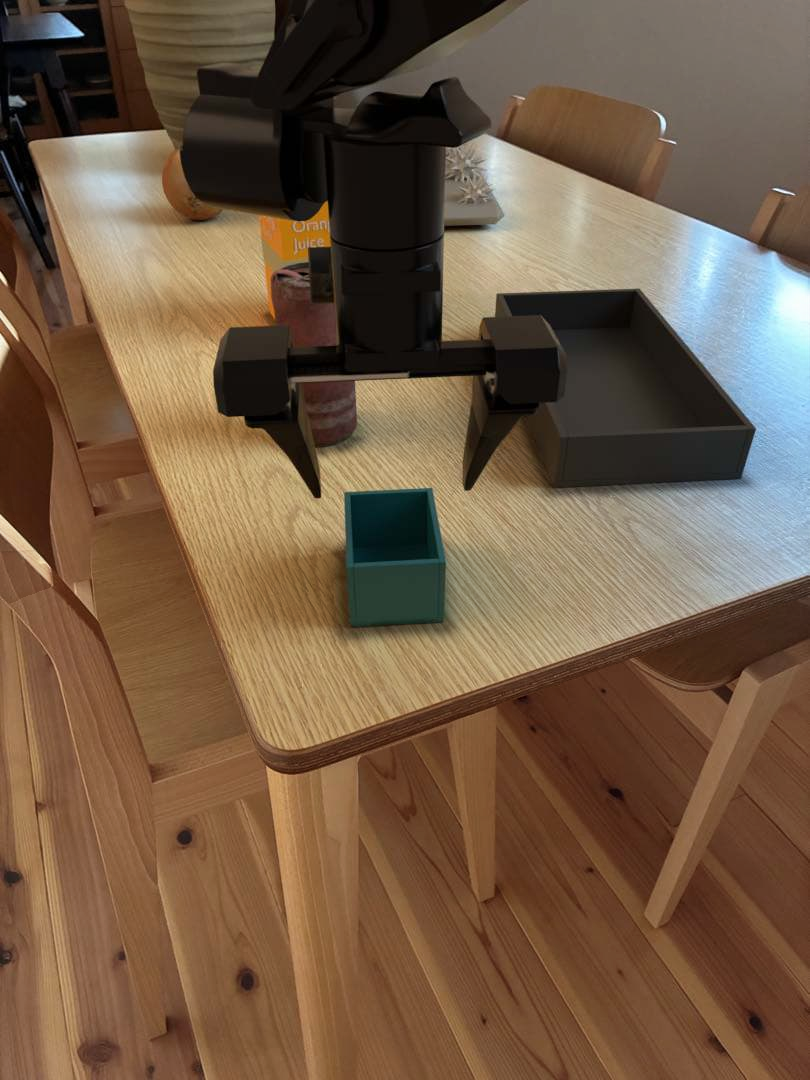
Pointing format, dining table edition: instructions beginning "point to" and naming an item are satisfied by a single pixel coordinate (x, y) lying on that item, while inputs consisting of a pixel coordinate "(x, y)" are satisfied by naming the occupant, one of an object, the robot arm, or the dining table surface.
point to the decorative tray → (468, 190)
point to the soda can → (312, 327)
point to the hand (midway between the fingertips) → (392, 490)
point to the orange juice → (291, 241)
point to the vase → (195, 47)
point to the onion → (183, 191)
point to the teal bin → (394, 557)
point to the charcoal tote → (629, 396)
